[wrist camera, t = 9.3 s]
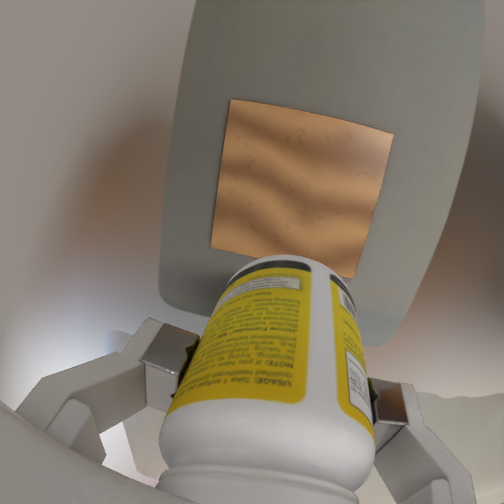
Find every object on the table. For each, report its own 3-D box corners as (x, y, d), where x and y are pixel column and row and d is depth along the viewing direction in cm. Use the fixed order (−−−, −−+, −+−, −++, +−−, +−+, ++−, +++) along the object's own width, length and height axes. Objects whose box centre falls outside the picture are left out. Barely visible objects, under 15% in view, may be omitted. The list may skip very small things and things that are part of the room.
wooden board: (232, 99, 28) (230, 99, 28) (392, 133, 27) (393, 134, 26) (211, 245, 35) (210, 247, 34) (352, 276, 34) (352, 279, 33)
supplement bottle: (204, 327, 12) (110, 526, 4) (255, 225, 10) (128, 498, 2) (311, 375, 12) (290, 575, 5) (381, 290, 10) (435, 544, 2)
